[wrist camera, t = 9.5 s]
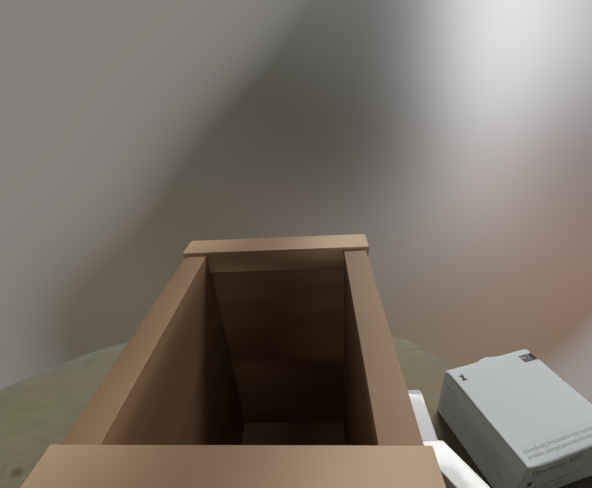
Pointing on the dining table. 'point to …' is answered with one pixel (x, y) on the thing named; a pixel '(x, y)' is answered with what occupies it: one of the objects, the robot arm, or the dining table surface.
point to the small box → (519, 421)
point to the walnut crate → (253, 381)
